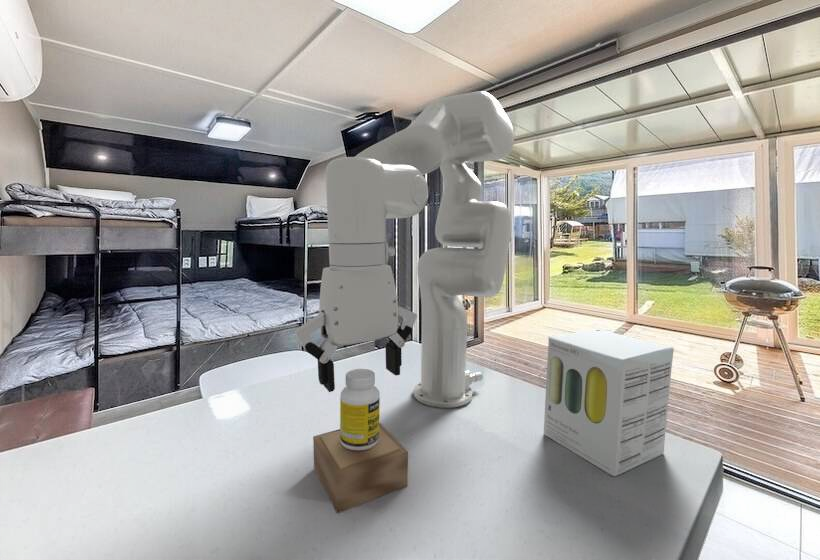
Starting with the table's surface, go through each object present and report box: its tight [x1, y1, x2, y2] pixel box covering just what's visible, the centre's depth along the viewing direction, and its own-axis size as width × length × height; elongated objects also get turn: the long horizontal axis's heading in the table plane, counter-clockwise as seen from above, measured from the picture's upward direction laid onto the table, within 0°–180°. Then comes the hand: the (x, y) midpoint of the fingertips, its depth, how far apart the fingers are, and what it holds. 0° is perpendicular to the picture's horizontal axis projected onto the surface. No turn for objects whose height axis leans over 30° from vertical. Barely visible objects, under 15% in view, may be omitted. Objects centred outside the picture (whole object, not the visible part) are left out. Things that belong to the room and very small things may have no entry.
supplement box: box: [543, 328, 675, 477], centre depth 59 cm, size 13×13×18 cm
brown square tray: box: [312, 422, 409, 514], centre depth 51 cm, size 10×10×5 cm
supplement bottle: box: [339, 368, 381, 451], centre depth 50 cm, size 5×5×10 cm
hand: (362, 379), depth 50 cm, fingers open, 9 cm apart
